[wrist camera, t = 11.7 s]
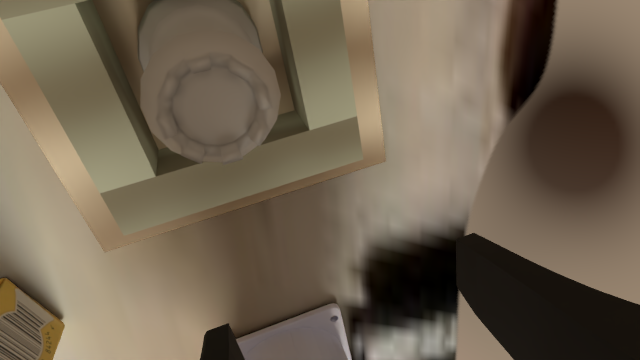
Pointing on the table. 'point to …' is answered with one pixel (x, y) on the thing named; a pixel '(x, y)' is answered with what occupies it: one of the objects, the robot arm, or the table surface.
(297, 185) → the socket stand
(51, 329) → the candy box
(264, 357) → the robot arm
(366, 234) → the table surface
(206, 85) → the rook chess piece
